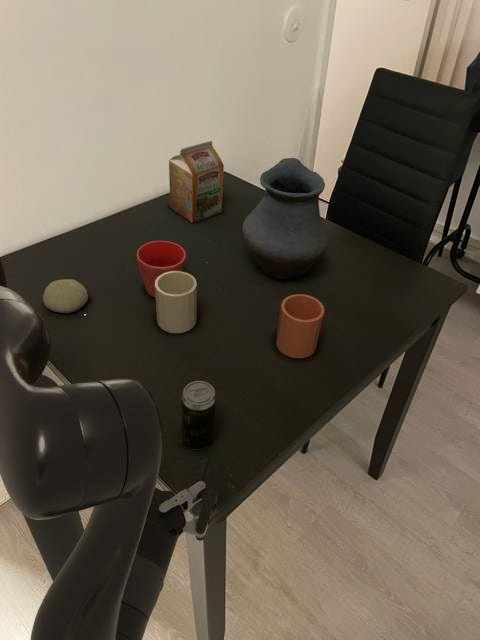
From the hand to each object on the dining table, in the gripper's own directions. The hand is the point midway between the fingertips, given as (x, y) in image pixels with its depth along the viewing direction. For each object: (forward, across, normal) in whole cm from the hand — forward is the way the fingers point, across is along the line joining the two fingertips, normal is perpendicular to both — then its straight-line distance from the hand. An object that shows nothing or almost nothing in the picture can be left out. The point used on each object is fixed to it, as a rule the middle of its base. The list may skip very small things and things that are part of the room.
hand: (177, 454), depth 71 cm
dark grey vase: (+66, -5, +11) cm, 67 cm away
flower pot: (+49, +20, +11) cm, 54 cm away
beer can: (+11, 0, +12) cm, 16 cm away
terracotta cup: (+39, -13, +11) cm, 43 cm away
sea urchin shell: (+38, +38, +11) cm, 55 cm away
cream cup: (+39, +13, +11) cm, 43 cm away
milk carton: (+86, +23, +11) cm, 90 cm away
